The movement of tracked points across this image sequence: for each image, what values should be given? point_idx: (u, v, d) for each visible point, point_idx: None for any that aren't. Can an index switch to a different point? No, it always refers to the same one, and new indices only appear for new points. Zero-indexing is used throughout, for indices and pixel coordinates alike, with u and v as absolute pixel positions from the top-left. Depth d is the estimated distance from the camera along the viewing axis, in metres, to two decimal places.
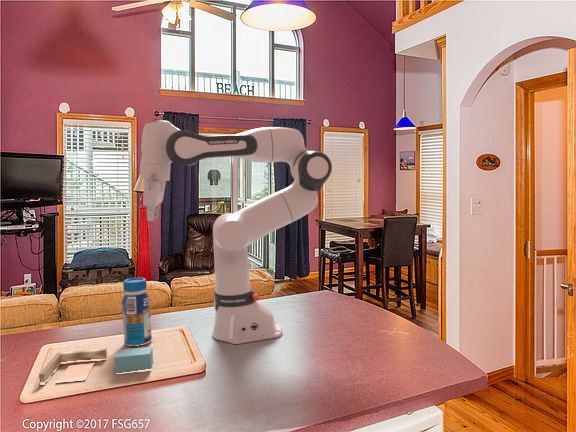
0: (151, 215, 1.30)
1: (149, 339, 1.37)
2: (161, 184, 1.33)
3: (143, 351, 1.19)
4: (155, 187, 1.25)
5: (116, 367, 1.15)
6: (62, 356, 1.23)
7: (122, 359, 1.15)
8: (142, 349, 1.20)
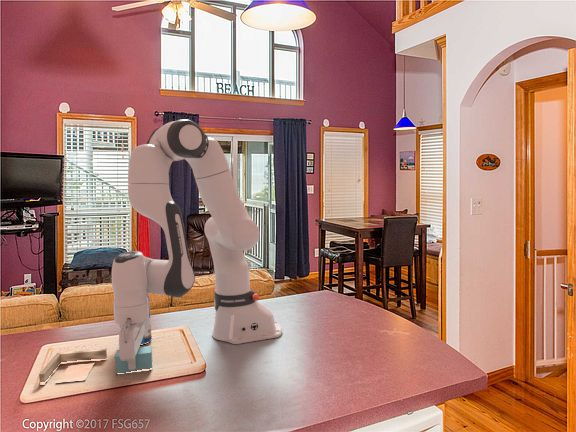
0: (132, 363, 1.15)
1: (149, 339, 1.37)
2: (139, 325, 1.16)
3: (143, 350, 1.19)
4: (132, 338, 1.09)
5: (117, 367, 1.15)
6: (62, 356, 1.23)
7: None
8: (142, 348, 1.20)
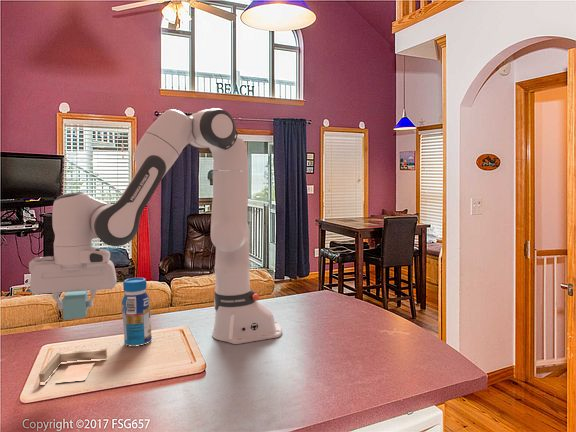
0: None
1: (149, 339, 1.37)
2: (63, 268, 1.11)
3: (72, 297, 1.12)
4: (31, 272, 1.10)
5: None
6: (62, 356, 1.23)
7: None
8: (79, 296, 1.13)
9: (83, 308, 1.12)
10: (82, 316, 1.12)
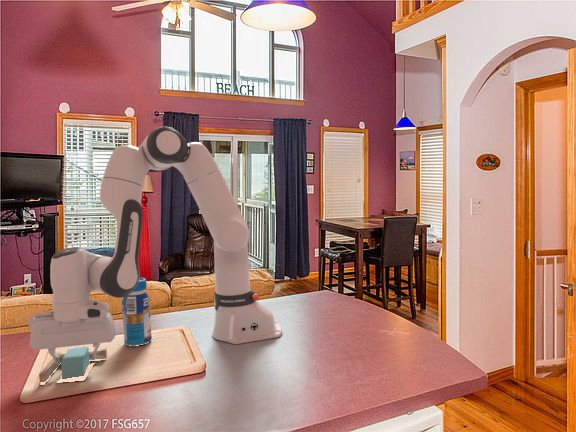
0: None
1: (149, 339, 1.37)
2: (61, 324, 1.13)
3: (72, 357, 1.14)
4: (31, 329, 1.12)
5: None
6: (62, 356, 1.23)
7: None
8: (78, 356, 1.15)
9: (82, 369, 1.13)
10: None
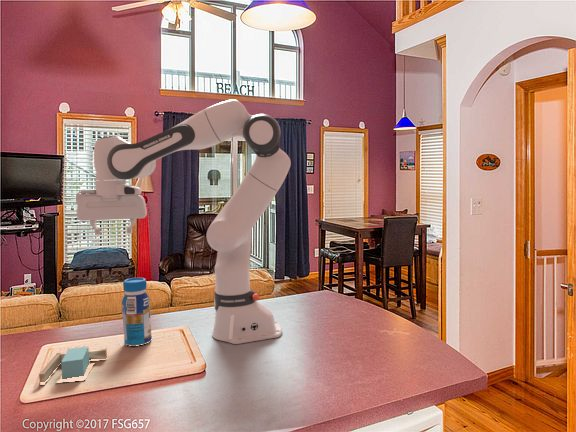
0: None
1: (149, 339, 1.37)
2: (103, 199, 1.34)
3: (72, 357, 1.14)
4: (78, 202, 1.34)
5: None
6: (62, 356, 1.23)
7: None
8: (78, 356, 1.15)
9: (82, 369, 1.13)
10: None
